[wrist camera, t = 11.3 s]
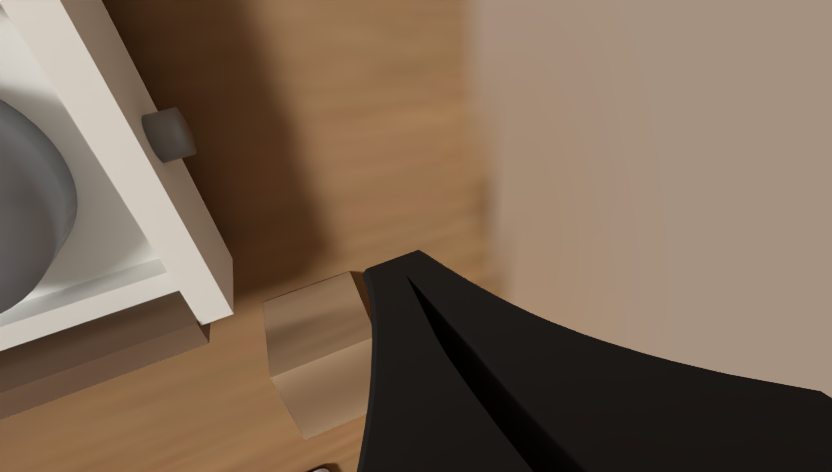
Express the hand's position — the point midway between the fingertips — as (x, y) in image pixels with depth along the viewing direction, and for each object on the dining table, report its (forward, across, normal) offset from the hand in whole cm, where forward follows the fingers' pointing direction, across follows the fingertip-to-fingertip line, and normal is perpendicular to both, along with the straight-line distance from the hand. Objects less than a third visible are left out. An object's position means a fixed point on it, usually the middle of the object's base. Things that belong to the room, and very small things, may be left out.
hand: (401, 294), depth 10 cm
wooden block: (+7, +2, +6) cm, 10 cm away
